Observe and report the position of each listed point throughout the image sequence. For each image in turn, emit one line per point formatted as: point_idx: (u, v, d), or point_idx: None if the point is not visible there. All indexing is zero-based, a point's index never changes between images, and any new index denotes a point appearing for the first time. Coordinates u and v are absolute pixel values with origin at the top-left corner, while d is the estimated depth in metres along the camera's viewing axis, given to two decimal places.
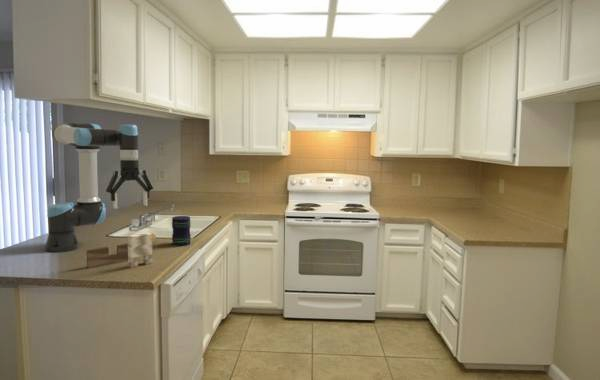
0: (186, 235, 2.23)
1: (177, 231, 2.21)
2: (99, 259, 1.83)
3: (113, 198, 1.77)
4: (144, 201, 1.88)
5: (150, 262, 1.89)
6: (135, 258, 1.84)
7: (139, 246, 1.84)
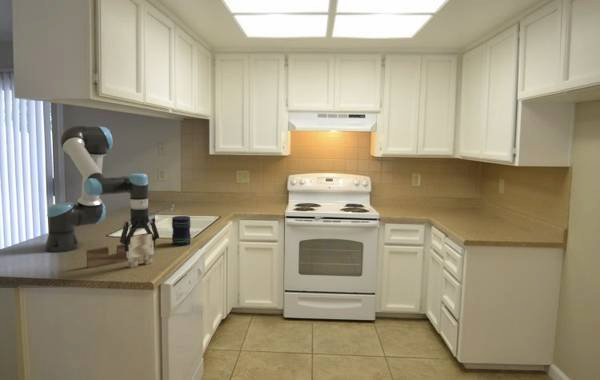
0: (186, 235, 2.23)
1: (177, 231, 2.21)
2: (99, 259, 1.83)
3: (127, 249, 1.81)
4: None
5: (150, 262, 1.89)
6: (135, 258, 1.84)
7: (139, 246, 1.84)
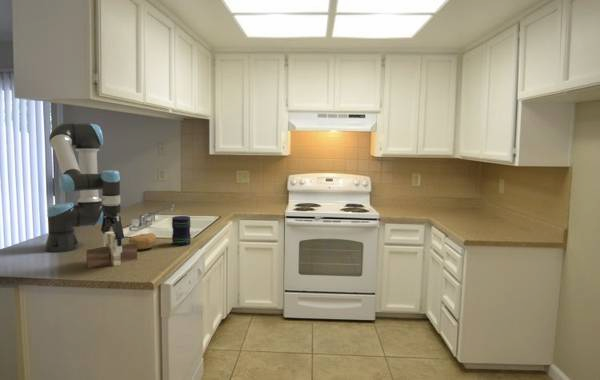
0: (186, 235, 2.23)
1: (177, 231, 2.21)
2: (99, 259, 1.83)
3: None
4: None
5: (113, 264, 1.85)
6: None
7: (108, 244, 1.88)
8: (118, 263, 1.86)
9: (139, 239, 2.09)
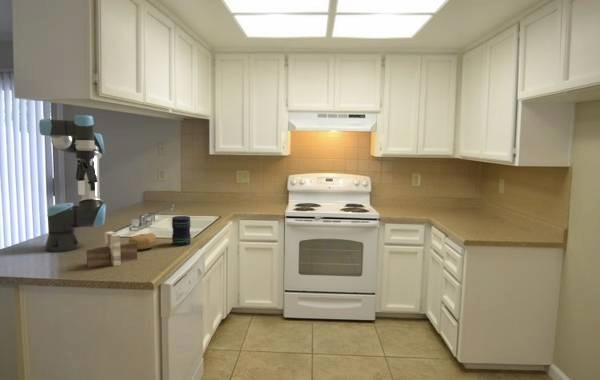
0: (186, 235, 2.23)
1: (177, 231, 2.21)
2: (99, 259, 1.83)
3: None
4: None
5: (113, 264, 1.85)
6: None
7: (108, 244, 1.88)
8: (118, 263, 1.86)
9: (139, 239, 2.09)
